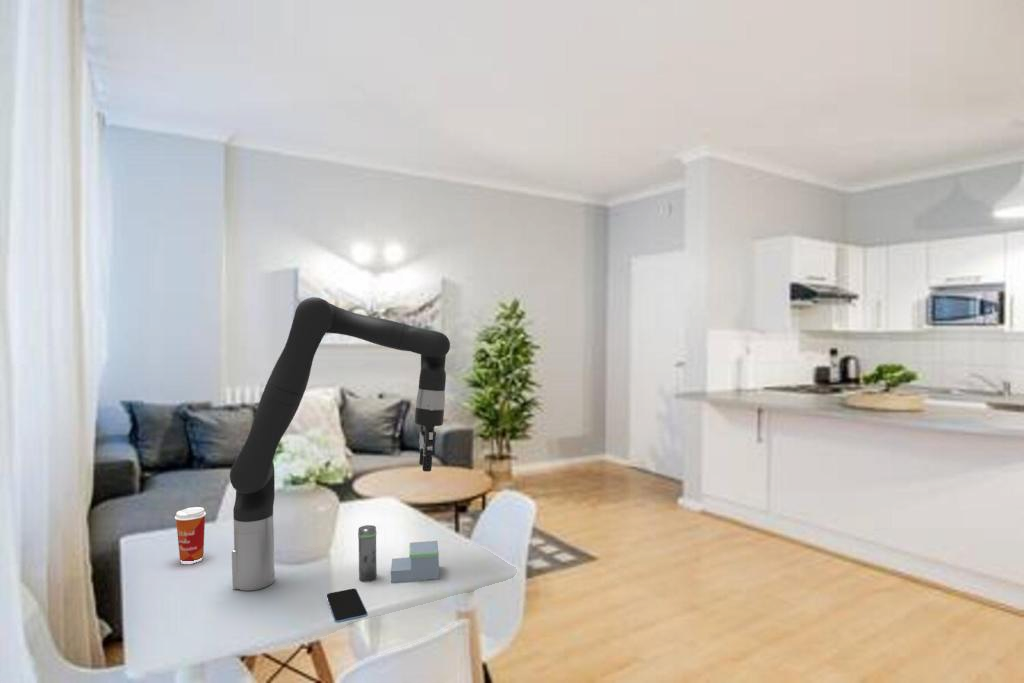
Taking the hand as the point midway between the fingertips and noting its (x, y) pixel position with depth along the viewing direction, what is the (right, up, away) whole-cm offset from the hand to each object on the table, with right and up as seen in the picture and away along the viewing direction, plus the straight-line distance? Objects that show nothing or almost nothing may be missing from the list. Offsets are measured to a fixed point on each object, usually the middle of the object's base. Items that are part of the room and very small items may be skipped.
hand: (424, 467), depth 158 cm
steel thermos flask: (-14, -28, -4) cm, 31 cm away
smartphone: (-16, -29, -19) cm, 38 cm away
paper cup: (-66, -28, +7) cm, 72 cm away
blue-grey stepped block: (-2, -27, -3) cm, 28 cm away
